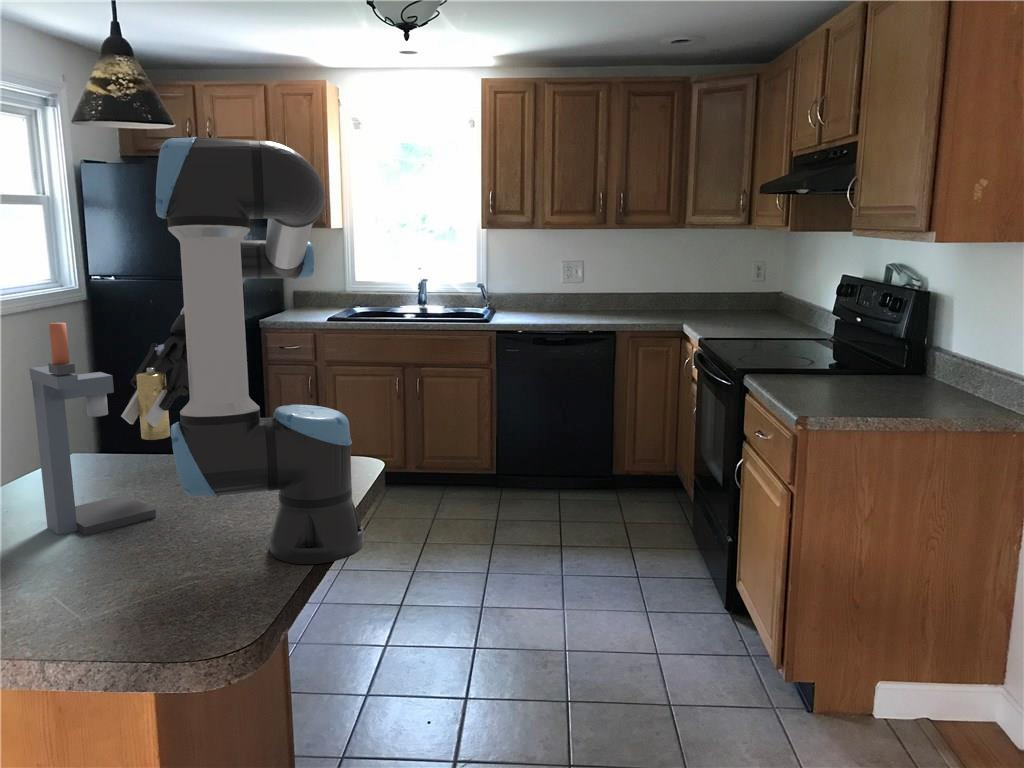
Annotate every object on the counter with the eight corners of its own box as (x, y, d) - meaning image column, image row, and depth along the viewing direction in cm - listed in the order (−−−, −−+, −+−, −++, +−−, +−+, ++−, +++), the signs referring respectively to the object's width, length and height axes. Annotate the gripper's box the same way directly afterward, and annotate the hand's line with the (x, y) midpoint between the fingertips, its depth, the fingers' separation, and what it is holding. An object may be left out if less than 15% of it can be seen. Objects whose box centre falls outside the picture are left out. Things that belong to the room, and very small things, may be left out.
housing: (174, 436, 153) (169, 368, 150) (148, 441, 149) (143, 371, 147) (162, 431, 156) (157, 365, 154) (136, 436, 152) (131, 368, 150)
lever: (75, 373, 128) (70, 323, 126) (57, 375, 126) (52, 325, 124) (66, 370, 130) (61, 321, 129) (49, 372, 128) (44, 323, 127)
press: (163, 521, 142) (151, 365, 137) (73, 545, 131) (57, 377, 126) (126, 501, 152) (114, 355, 146) (40, 522, 141) (23, 365, 135)
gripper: (243, 338, 160) (188, 437, 148) (173, 332, 167) (115, 427, 155) (223, 314, 154) (164, 415, 142) (151, 309, 161) (89, 406, 149)
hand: (138, 421), depth 149 cm, fingers closed on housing, 5 cm apart
